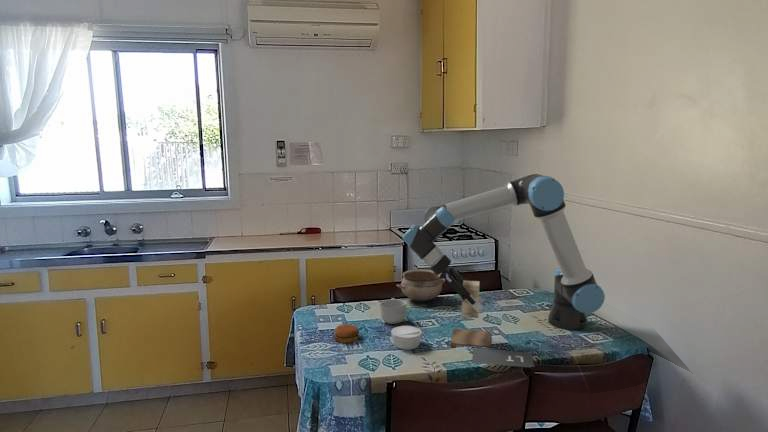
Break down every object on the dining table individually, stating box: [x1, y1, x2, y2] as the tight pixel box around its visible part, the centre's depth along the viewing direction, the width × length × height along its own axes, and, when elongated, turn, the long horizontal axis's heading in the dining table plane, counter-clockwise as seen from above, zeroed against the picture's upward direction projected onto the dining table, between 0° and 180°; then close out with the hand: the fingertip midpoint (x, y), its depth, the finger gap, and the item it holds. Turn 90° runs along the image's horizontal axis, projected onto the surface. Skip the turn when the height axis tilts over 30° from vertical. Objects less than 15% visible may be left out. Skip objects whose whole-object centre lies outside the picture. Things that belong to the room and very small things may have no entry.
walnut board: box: [450, 328, 491, 348], centre depth 193 cm, size 14×14×2 cm
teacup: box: [379, 297, 407, 325], centre depth 214 cm, size 14×11×8 cm
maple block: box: [461, 279, 481, 319], centre depth 190 cm, size 6×6×12 cm
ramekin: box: [390, 325, 423, 351], centre depth 189 cm, size 11×11×5 cm
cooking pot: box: [396, 269, 446, 303], centre depth 239 cm, size 25×19×12 cm
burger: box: [333, 323, 360, 344], centre depth 195 cm, size 10×9×5 cm
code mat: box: [471, 348, 535, 368], centre depth 176 cm, size 20×12×1 cm, turn 79°
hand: (480, 306), depth 190 cm, fingers closed on maple block, 6 cm apart
